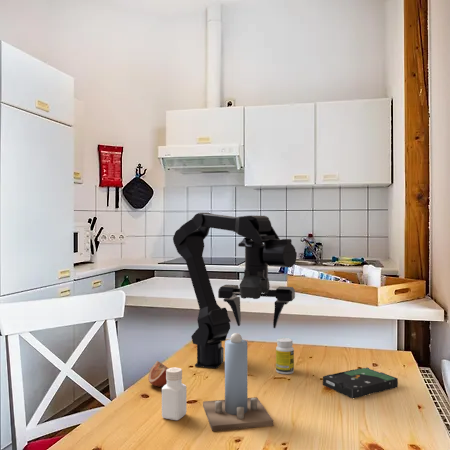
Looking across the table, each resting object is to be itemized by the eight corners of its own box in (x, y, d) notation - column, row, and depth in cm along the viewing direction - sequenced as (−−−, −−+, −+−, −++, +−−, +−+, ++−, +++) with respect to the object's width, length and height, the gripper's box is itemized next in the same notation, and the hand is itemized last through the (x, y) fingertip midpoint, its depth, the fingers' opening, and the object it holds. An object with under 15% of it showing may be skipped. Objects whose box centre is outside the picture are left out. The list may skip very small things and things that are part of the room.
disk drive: (353, 402, 102) (398, 389, 109) (353, 389, 102) (398, 377, 109) (321, 387, 111) (365, 376, 118) (321, 376, 111) (365, 365, 118)
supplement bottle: (293, 375, 118) (293, 342, 118) (275, 374, 119) (274, 341, 119) (294, 369, 122) (294, 338, 122) (276, 368, 123) (276, 337, 123)
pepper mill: (220, 410, 93) (220, 333, 93) (234, 403, 97) (233, 329, 96) (238, 416, 90) (238, 337, 90) (251, 409, 94) (251, 332, 94)
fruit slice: (145, 380, 114) (145, 360, 114) (171, 377, 116) (171, 358, 116) (152, 392, 106) (152, 371, 106) (180, 388, 108) (180, 367, 108)
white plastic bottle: (187, 414, 94) (187, 368, 94) (177, 422, 90) (177, 374, 90) (170, 411, 96) (170, 365, 96) (160, 418, 92) (160, 371, 92)
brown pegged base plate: (202, 406, 98) (202, 392, 98) (257, 401, 100) (257, 388, 100) (212, 431, 86) (212, 415, 86) (273, 425, 89) (273, 410, 89)
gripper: (211, 267, 110) (211, 331, 110) (288, 269, 105) (288, 337, 105) (224, 263, 121) (224, 322, 121) (295, 264, 116) (295, 326, 116)
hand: (256, 326), depth 116 cm, fingers open, 9 cm apart
